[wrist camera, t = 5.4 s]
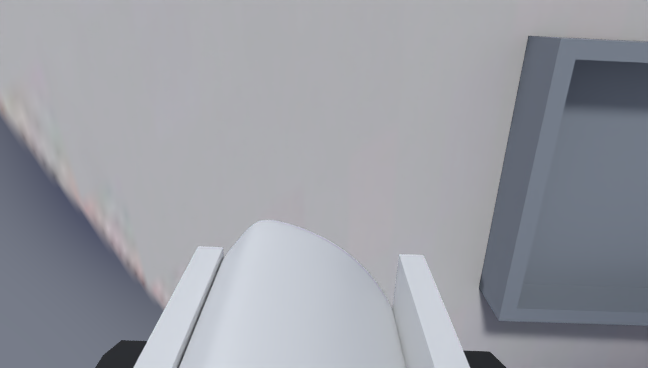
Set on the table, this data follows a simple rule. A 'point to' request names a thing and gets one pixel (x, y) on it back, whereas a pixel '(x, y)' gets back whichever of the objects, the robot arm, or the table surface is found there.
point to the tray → (574, 188)
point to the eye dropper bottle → (293, 307)
